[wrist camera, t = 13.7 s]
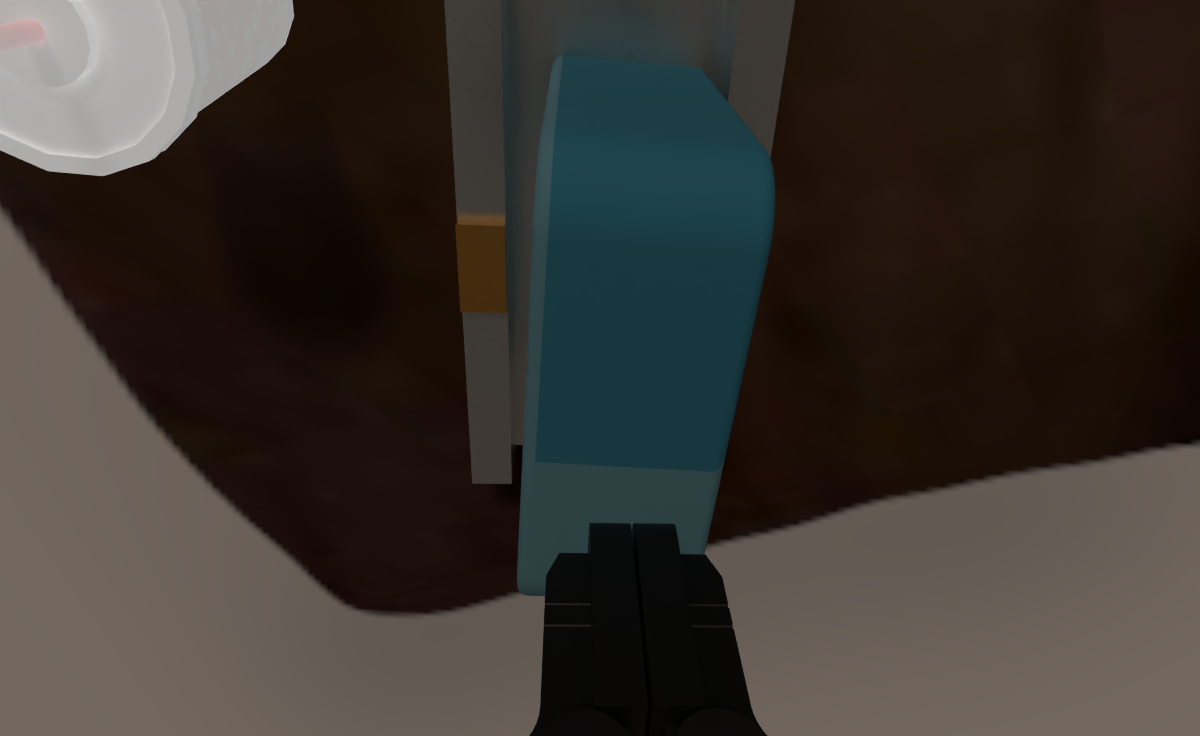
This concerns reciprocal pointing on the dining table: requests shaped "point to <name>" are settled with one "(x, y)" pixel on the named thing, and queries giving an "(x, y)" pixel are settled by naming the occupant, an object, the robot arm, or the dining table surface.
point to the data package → (636, 303)
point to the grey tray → (511, 140)
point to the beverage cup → (122, 73)
